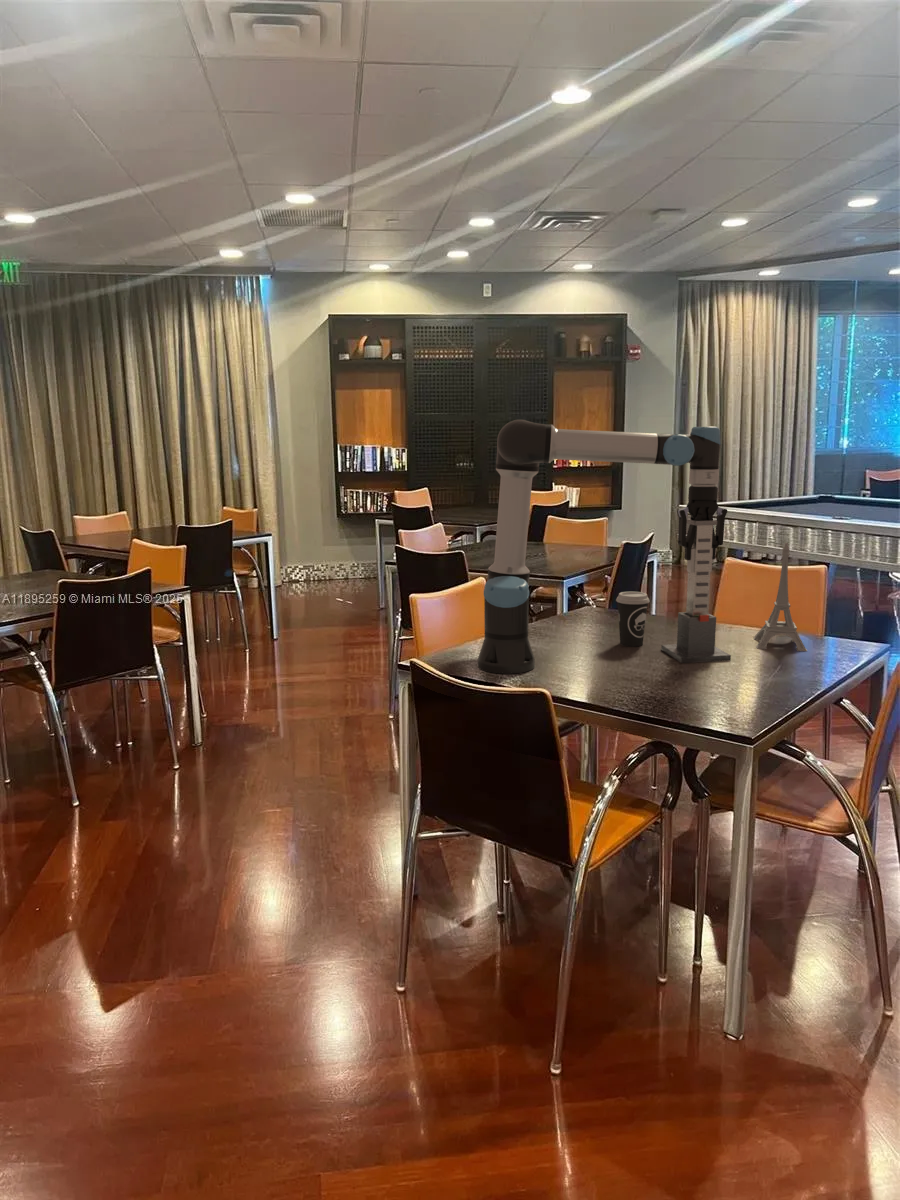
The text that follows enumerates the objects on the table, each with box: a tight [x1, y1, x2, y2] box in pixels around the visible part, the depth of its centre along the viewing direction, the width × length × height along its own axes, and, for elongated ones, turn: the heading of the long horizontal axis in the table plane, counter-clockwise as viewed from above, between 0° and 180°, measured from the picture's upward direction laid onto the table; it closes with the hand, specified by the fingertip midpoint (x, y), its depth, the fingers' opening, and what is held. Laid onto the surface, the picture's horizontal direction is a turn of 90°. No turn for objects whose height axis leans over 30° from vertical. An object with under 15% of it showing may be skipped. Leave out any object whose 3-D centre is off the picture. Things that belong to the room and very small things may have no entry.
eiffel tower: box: [753, 542, 808, 652], centre depth 235 cm, size 13×13×30 cm
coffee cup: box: [615, 591, 650, 648], centre depth 239 cm, size 10×10×15 cm
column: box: [685, 518, 717, 618], centre depth 223 cm, size 6×6×27 cm
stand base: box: [660, 611, 732, 664], centre depth 226 cm, size 14×14×12 cm
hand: (699, 571), depth 223 cm, fingers closed on column, 4 cm apart
